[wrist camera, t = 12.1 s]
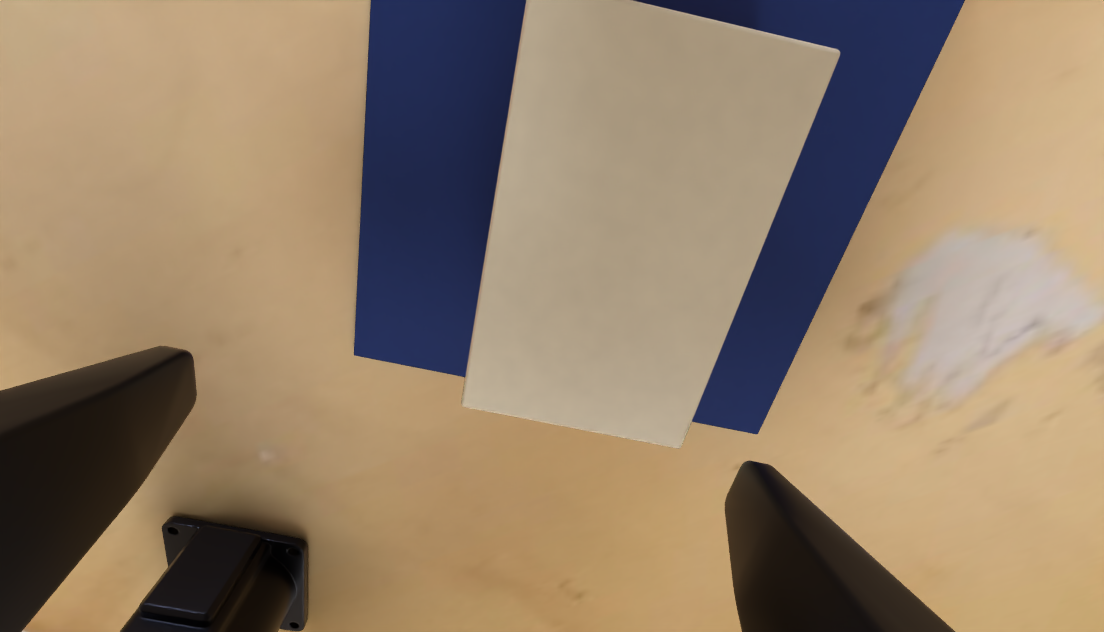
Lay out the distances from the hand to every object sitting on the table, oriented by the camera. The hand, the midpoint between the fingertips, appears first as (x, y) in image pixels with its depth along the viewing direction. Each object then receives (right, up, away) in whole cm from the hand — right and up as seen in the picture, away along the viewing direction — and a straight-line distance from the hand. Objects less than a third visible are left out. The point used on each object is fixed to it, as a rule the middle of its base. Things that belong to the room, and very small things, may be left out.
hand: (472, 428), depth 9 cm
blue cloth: (+3, +6, +9) cm, 11 cm away
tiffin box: (+3, +6, +9) cm, 11 cm away
